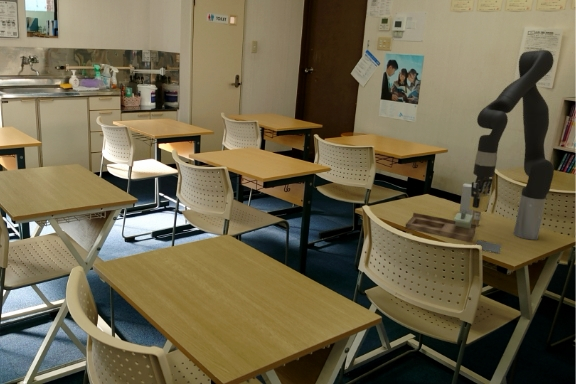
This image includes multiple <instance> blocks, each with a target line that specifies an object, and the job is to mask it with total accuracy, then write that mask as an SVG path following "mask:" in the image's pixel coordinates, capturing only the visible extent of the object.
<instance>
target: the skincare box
mask: <svg viewBox="0 0 576 384" xmlns="http://www.w3.org/2000/svg"><path fill="white" fill-rule="evenodd" d="M471 187H472V183H463V184H462V189H461V199H460V205H459V212H458V213H462V211H463V210H466V214H468V215H470V210H471V209H469V206H470V200H471Z"/></svg>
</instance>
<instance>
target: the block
mask: <svg viewBox="0 0 576 384" xmlns="http://www.w3.org/2000/svg"><path fill="white" fill-rule="evenodd" d="M473 199H474V197H471V200H470V206H469V209H471V210H475V211H479V212H481V213H484V212H485V211H488V208H489V207H488V206H489V200H490V194H483V193H482V194H481V197H480V202H479V207H478V208H475V207H473Z"/></svg>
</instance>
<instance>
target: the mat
mask: <svg viewBox="0 0 576 384" xmlns="http://www.w3.org/2000/svg"><path fill="white" fill-rule="evenodd" d="M475 244H477V245H481V246H482V249H483V250H482V251H484V250H486V251H485V252H488V251H491V252H490V253H493V252H495V253H494V254H498V253H499V254H500V252H501V249H500V248H502V244H498V243H494V242H489V241H484V240H480V239H479V240H478V239H477V240H476V242H475Z"/></svg>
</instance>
